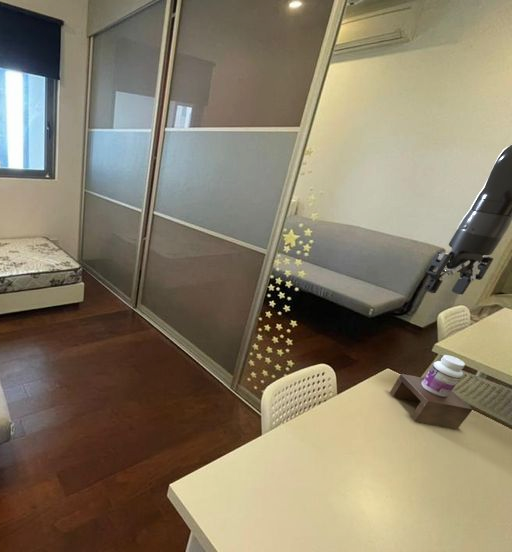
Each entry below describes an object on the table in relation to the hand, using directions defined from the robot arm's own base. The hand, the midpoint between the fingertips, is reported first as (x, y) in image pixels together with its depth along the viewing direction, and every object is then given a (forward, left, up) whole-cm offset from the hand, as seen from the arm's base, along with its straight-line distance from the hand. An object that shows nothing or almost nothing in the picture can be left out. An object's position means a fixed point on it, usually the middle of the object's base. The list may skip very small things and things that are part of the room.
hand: (443, 292), depth 82 cm
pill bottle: (-2, +10, -23) cm, 25 cm away
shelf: (-2, +10, -30) cm, 32 cm away
